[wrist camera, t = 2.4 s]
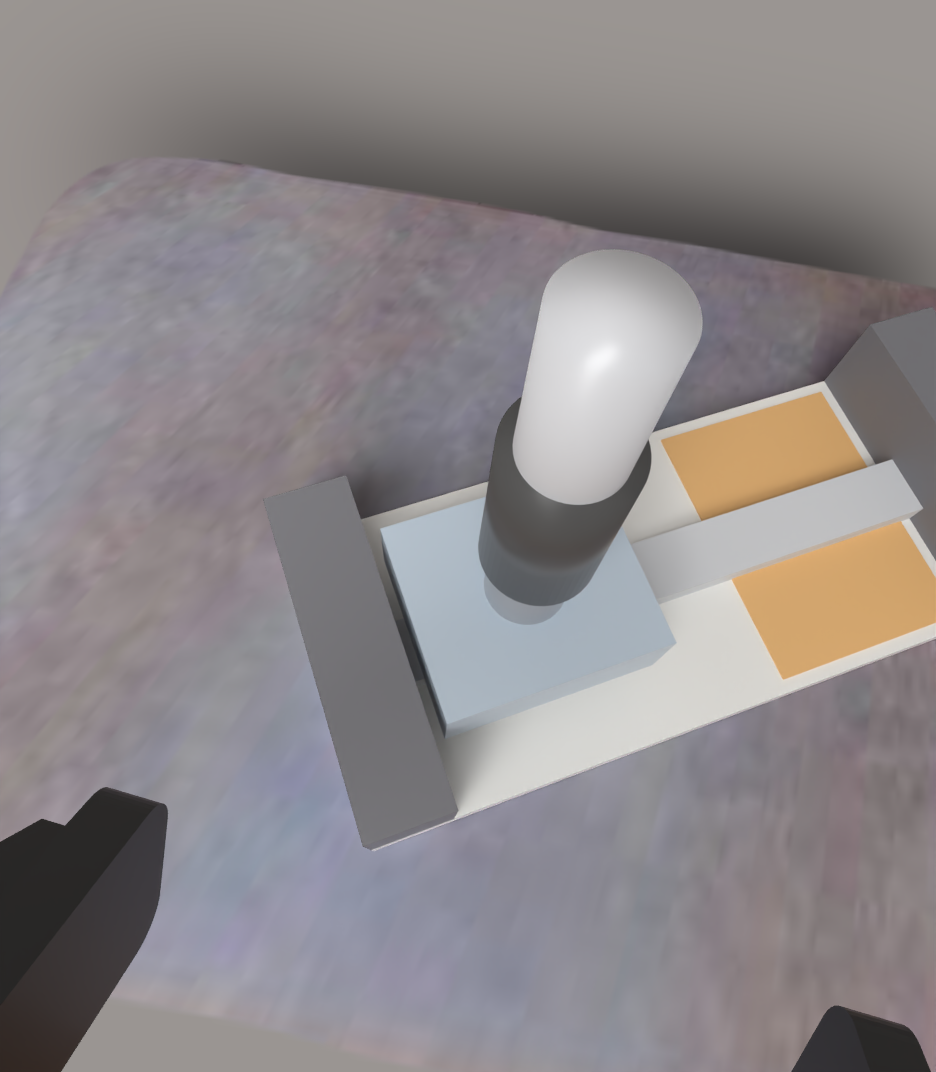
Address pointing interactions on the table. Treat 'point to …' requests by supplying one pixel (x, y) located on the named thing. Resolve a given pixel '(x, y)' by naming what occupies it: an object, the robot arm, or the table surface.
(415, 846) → the table surface
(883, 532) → the rail base
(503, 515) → the carriage
